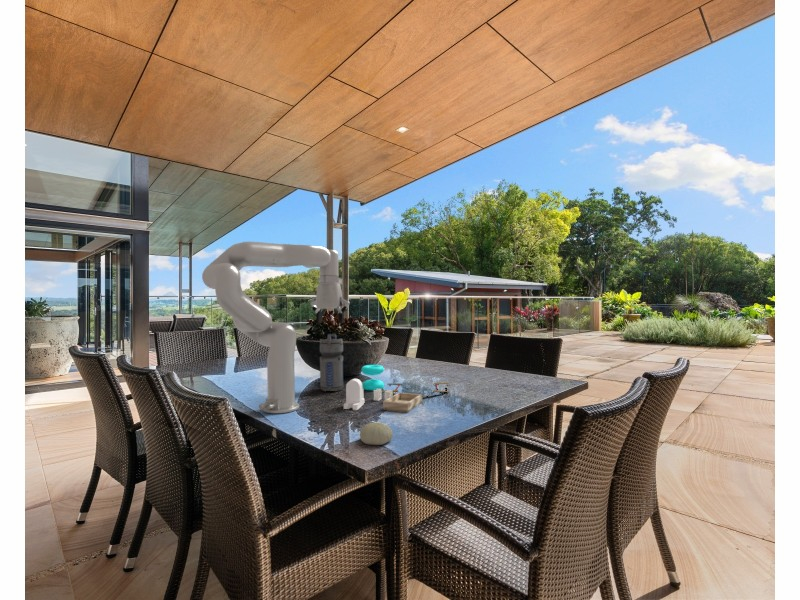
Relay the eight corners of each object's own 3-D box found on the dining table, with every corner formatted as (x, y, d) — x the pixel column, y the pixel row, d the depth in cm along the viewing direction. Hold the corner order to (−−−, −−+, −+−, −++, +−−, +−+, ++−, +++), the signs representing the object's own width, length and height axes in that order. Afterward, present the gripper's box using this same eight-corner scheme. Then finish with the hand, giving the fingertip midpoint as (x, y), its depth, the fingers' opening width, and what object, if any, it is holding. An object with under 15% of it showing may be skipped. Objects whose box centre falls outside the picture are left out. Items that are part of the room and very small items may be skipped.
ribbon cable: (450, 401, 156) (449, 384, 186) (450, 399, 156) (449, 382, 186) (376, 401, 159) (386, 384, 189) (376, 399, 159) (386, 382, 189)
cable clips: (387, 403, 154) (387, 392, 154) (355, 400, 159) (355, 389, 159) (393, 400, 158) (393, 390, 158) (361, 397, 164) (361, 387, 164)
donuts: (360, 364, 184) (382, 363, 185) (361, 386, 184) (383, 385, 185) (361, 368, 174) (384, 367, 175) (362, 391, 174) (385, 390, 176)
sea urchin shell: (382, 426, 120) (390, 411, 115) (390, 451, 116) (400, 437, 111) (353, 431, 116) (360, 416, 111) (361, 457, 111) (369, 443, 106)
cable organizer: (365, 403, 155) (364, 377, 155) (357, 410, 145) (356, 382, 145) (351, 402, 156) (351, 376, 156) (343, 409, 146) (342, 382, 146)
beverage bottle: (346, 386, 185) (345, 331, 185) (341, 392, 172) (340, 334, 172) (324, 386, 185) (323, 331, 185) (317, 393, 172) (316, 334, 172)
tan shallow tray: (407, 412, 141) (407, 403, 141) (383, 409, 145) (382, 401, 145) (422, 402, 154) (422, 394, 154) (399, 400, 158) (399, 392, 158)
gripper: (305, 280, 162) (306, 323, 163) (344, 279, 157) (344, 323, 157) (315, 281, 169) (316, 322, 170) (352, 280, 164) (353, 322, 164)
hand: (330, 323), depth 163 cm, fingers open, 9 cm apart
